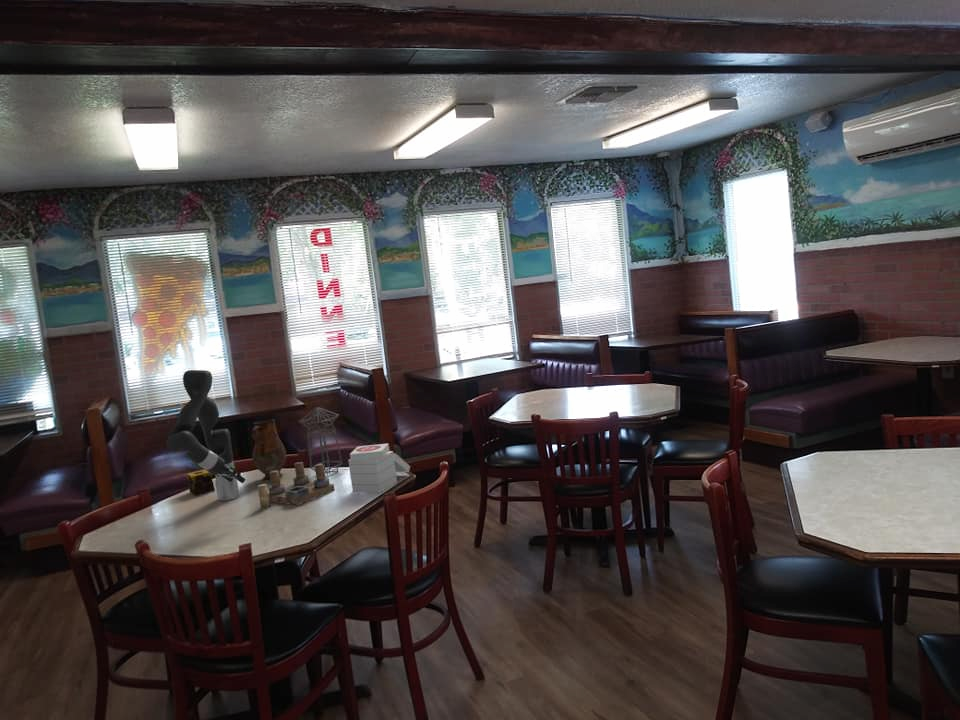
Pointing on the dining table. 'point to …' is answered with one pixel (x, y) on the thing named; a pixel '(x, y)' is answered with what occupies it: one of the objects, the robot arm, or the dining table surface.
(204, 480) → the yellow and brown cube
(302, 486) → the stool
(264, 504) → the loose leg
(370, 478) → the pizza box stack
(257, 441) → the pitcher
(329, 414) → the geometric lantern
